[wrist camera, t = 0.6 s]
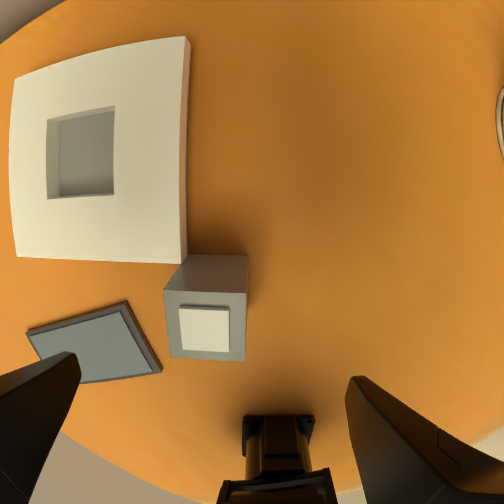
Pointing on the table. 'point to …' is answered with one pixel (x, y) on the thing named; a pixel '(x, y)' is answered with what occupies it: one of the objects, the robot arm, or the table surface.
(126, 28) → the table surface
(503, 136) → the coffee can
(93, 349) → the phone
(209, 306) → the block
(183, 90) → the outlet plate
